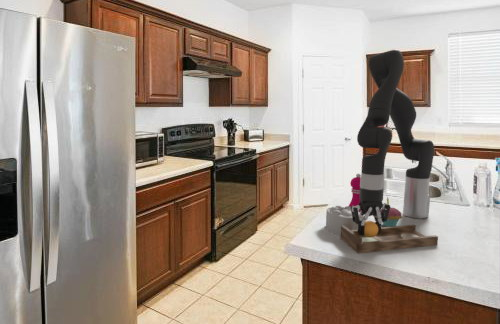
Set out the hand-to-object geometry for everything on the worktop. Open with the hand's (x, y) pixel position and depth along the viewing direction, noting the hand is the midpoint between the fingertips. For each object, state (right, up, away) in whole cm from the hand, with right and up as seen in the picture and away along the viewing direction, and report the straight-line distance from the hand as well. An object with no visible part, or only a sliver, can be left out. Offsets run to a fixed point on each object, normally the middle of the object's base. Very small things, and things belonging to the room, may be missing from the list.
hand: (369, 233), depth 114 cm
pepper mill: (+3, 0, +25) cm, 25 cm away
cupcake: (+15, -1, +19) cm, 24 cm away
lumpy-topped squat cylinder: (-6, -2, +14) cm, 16 cm away
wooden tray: (+7, -3, +2) cm, 8 cm away
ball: (0, +2, 0) cm, 2 cm away
